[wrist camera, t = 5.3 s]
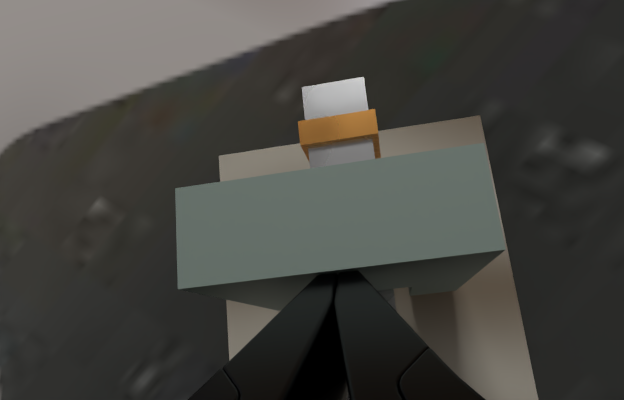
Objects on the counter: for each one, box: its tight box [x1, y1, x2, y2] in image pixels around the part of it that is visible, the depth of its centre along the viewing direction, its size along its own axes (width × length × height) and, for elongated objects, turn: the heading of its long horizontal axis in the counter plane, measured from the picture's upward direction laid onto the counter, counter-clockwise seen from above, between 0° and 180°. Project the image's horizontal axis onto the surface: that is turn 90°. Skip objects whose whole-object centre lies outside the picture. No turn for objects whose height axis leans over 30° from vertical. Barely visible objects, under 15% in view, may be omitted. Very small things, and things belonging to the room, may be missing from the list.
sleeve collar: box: [175, 143, 506, 311], centre depth 14 cm, size 3×6×8 cm, turn 95°
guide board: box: [219, 116, 538, 400], centre depth 18 cm, size 10×10×1 cm
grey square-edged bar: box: [298, 77, 396, 400], centre depth 17 cm, size 10×2×4 cm, turn 5°
